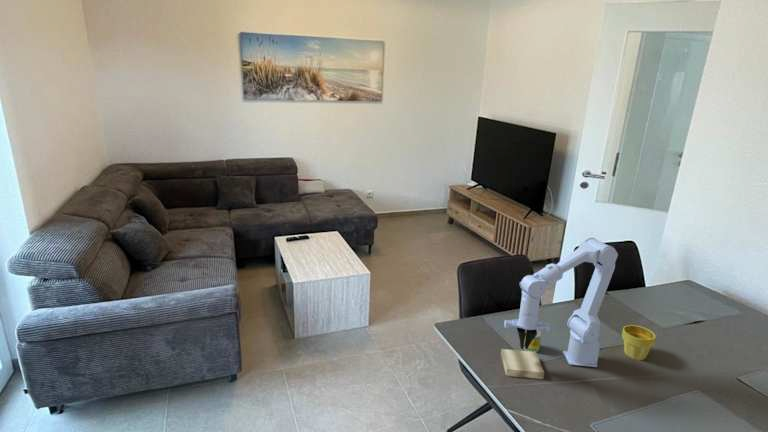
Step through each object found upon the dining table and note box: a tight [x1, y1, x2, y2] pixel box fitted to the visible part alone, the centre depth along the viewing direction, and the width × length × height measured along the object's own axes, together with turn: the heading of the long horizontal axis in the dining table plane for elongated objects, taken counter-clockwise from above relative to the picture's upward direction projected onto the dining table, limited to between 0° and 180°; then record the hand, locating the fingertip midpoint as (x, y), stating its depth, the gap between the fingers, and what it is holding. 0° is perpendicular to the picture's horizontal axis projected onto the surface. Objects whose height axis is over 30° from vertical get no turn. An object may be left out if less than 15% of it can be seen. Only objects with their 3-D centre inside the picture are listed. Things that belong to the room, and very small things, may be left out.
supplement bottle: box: [524, 330, 542, 353], centre depth 162 cm, size 5×5×10 cm
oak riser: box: [500, 348, 545, 380], centre depth 152 cm, size 12×12×3 cm
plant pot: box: [621, 324, 657, 361], centre depth 160 cm, size 10×10×10 cm
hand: (523, 347), depth 150 cm, fingers closed
